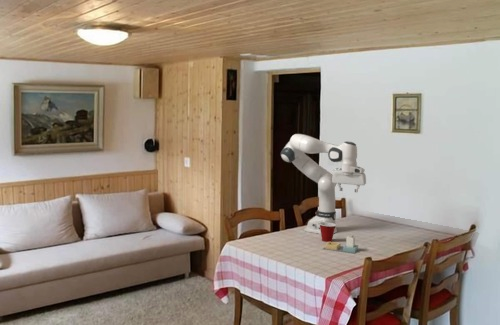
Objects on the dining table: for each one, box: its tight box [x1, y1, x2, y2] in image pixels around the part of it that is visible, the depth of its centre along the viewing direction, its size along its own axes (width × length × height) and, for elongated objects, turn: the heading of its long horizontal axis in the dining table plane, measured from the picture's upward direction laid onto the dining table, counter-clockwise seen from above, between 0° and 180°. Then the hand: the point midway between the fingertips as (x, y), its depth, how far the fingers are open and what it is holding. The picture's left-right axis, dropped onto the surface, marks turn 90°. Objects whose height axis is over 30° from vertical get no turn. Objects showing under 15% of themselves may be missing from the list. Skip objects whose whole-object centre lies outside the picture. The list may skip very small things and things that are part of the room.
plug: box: [345, 234, 356, 248], centre depth 304 cm, size 4×4×9 cm
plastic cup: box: [319, 222, 337, 243], centre depth 325 cm, size 11×11×12 cm
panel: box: [322, 241, 361, 255], centre depth 307 cm, size 20×12×4 cm, turn 62°
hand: (348, 191), depth 312 cm, fingers open, 8 cm apart
